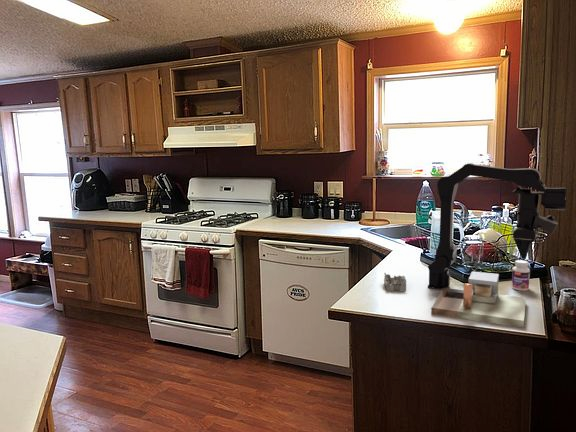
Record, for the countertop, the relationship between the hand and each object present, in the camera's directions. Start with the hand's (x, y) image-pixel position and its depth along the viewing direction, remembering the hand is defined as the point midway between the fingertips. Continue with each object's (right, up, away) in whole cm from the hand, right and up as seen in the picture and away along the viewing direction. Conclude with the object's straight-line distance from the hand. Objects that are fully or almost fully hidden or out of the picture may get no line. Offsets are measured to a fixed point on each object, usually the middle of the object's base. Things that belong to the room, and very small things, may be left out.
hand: (524, 255), depth 150 cm
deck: (-17, -16, -6) cm, 24 cm away
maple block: (-15, -13, -4) cm, 21 cm away
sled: (-18, -14, -7) cm, 23 cm away
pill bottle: (+4, -13, +12) cm, 18 cm away
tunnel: (-15, -13, -3) cm, 20 cm away
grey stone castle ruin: (-38, -13, +17) cm, 44 cm away
